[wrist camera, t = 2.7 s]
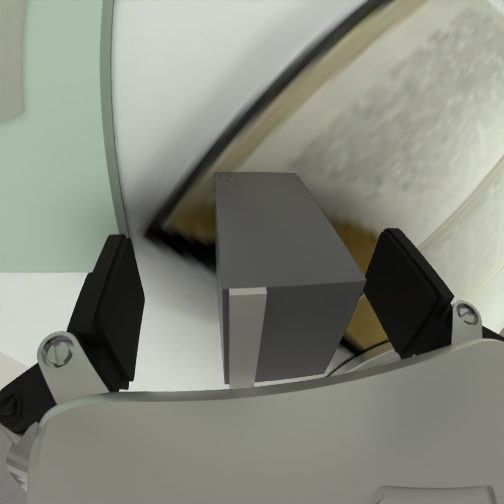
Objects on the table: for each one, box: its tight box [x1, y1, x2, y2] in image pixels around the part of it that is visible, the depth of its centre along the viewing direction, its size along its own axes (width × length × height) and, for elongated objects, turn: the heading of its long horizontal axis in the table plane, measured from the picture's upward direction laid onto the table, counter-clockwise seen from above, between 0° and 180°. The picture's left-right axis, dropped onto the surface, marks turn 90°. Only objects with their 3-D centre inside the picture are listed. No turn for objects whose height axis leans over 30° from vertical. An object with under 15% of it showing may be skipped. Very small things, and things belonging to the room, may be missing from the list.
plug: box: [215, 172, 367, 389], centre depth 10 cm, size 4×4×7 cm
